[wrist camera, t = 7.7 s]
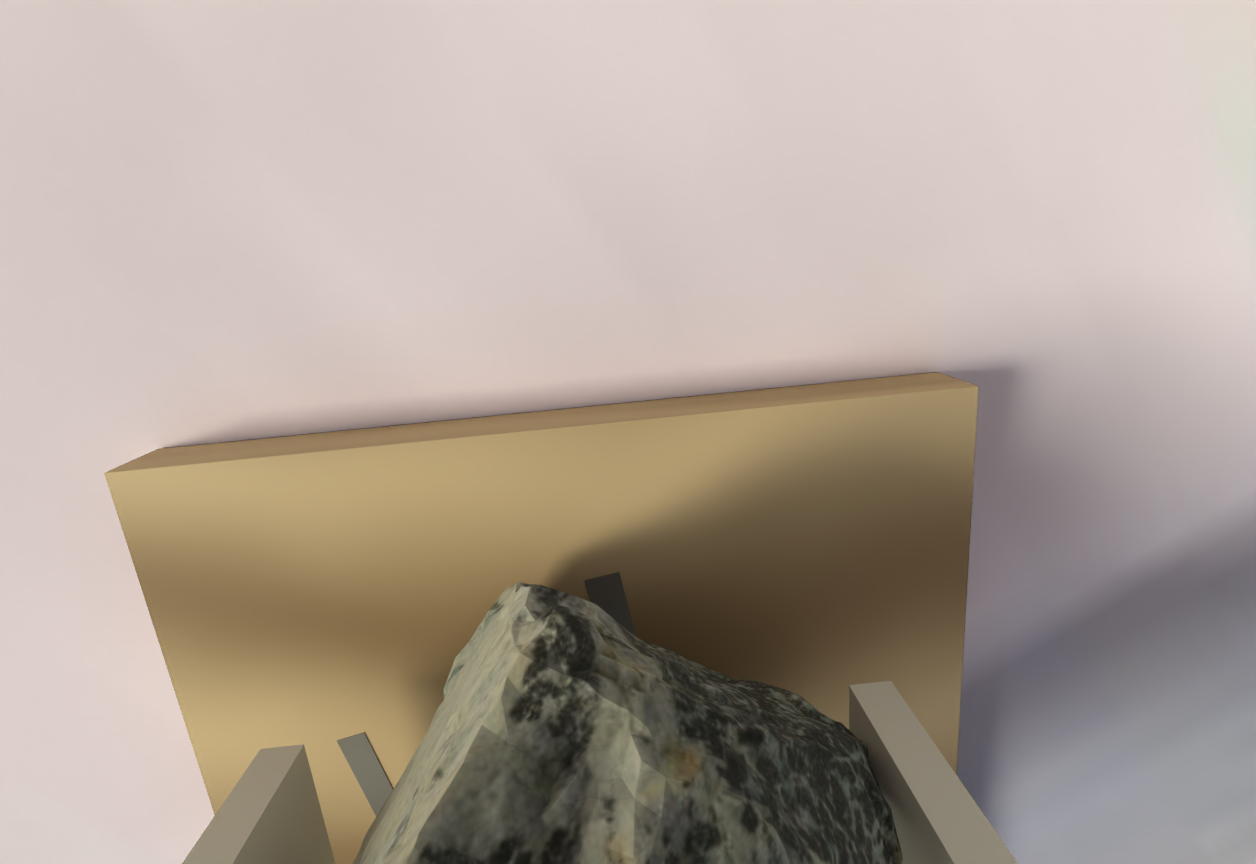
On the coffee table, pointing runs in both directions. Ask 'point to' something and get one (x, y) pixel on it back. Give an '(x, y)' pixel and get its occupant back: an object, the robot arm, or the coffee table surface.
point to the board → (553, 561)
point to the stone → (622, 758)
